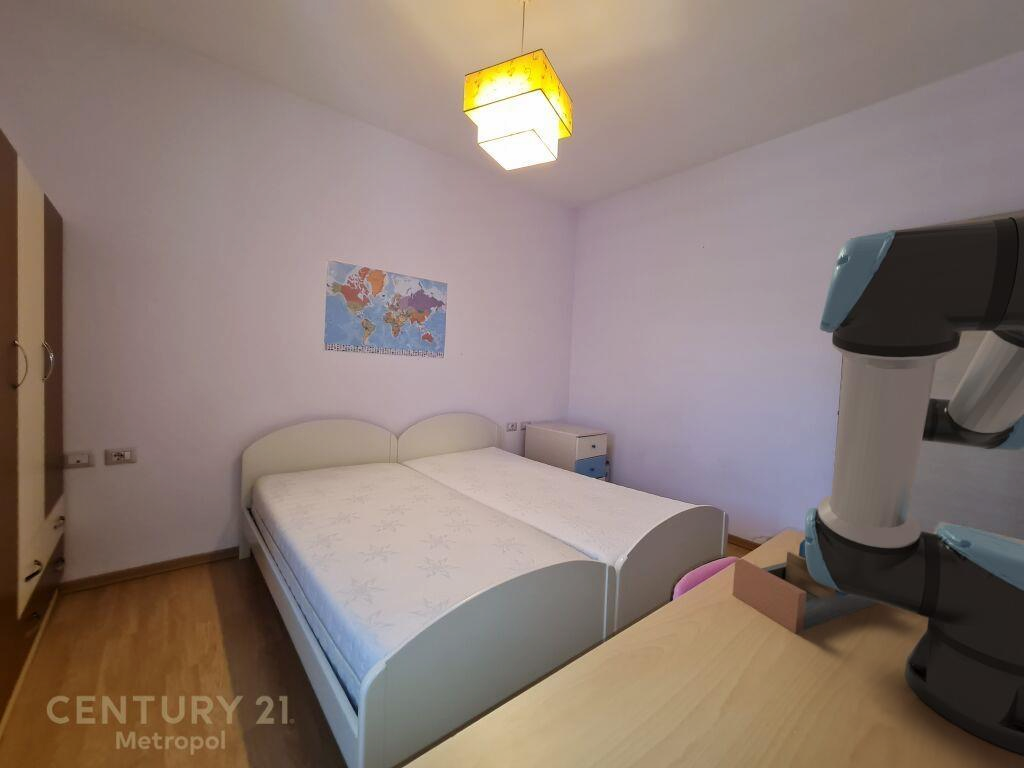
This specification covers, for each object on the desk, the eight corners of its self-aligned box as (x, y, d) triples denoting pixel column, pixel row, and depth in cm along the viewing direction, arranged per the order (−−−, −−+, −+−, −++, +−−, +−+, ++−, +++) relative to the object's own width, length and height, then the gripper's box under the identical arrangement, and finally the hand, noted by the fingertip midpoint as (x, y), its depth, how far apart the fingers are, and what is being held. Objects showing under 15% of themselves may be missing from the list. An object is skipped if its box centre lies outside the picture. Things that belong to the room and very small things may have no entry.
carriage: (869, 592, 81) (872, 563, 81) (833, 605, 76) (836, 574, 76) (820, 570, 89) (823, 543, 89) (784, 580, 84) (787, 551, 84)
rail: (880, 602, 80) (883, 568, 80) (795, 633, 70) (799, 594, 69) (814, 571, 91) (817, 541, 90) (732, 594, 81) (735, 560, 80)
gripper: (861, 451, 90) (850, 554, 92) (825, 454, 85) (814, 563, 87) (904, 459, 84) (892, 571, 85) (868, 463, 78) (855, 582, 80)
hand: (853, 567), depth 86 cm, fingers closed
